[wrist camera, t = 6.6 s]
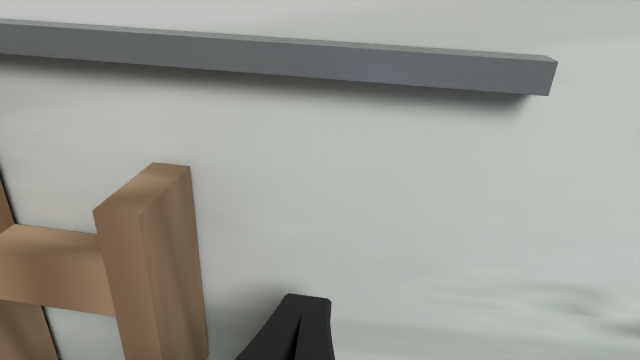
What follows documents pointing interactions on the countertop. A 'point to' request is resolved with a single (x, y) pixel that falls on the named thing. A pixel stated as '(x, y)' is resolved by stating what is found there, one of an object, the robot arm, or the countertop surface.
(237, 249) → the countertop surface
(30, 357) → the wooden frame
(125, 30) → the track
